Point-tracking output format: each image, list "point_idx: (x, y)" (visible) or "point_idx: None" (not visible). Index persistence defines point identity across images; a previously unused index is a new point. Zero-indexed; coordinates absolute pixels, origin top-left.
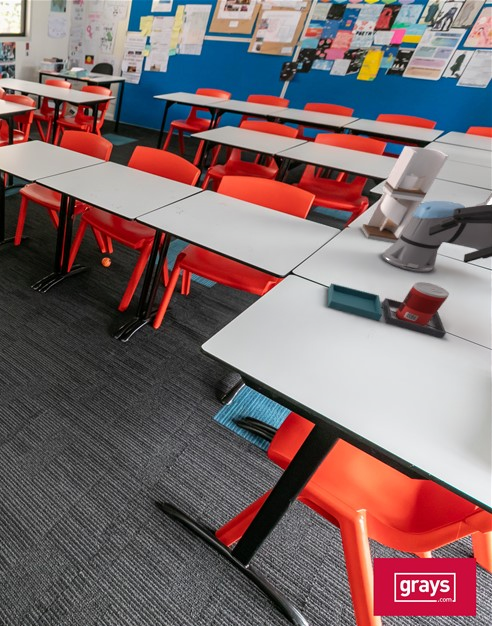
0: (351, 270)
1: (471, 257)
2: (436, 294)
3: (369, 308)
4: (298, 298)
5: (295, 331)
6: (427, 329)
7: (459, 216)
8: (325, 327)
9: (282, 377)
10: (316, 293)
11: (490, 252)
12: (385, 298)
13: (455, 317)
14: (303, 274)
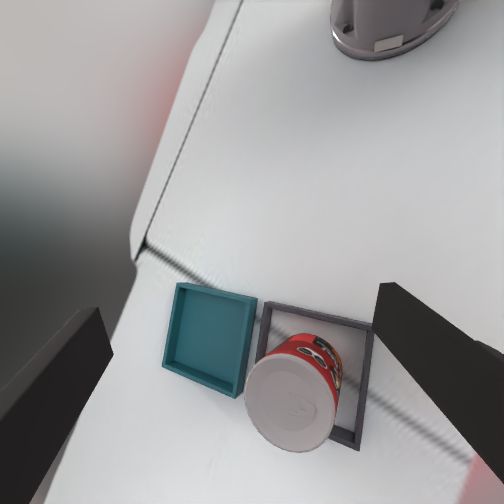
0: (245, 159)
1: (396, 344)
2: (290, 438)
3: (236, 343)
4: (137, 345)
5: (115, 469)
6: None
7: None
8: (154, 444)
9: None
10: (165, 311)
11: (492, 461)
12: (264, 304)
13: (438, 304)
14: (160, 237)
